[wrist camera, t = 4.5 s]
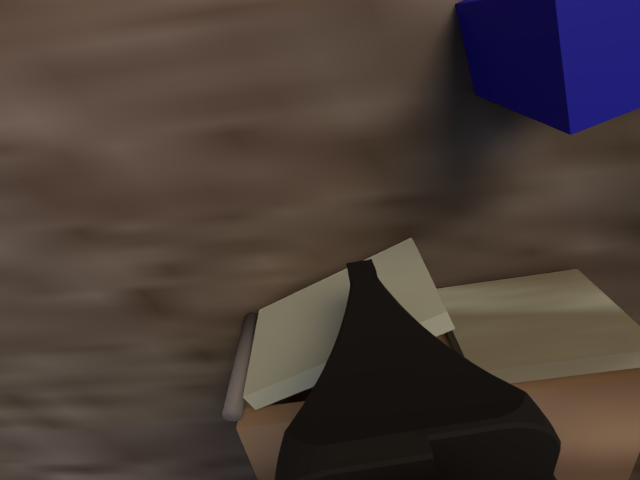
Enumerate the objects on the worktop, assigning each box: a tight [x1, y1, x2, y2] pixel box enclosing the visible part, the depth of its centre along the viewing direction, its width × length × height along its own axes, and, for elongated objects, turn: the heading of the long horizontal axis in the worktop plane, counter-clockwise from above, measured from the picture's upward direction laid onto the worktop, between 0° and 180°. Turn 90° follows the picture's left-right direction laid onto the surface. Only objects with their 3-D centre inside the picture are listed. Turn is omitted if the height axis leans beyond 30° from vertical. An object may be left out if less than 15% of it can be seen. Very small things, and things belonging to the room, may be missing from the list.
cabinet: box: [236, 269, 640, 480], centre depth 18 cm, size 10×15×5 cm, turn 99°
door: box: [222, 237, 455, 422], centre depth 15 cm, size 1×9×5 cm, turn 119°
